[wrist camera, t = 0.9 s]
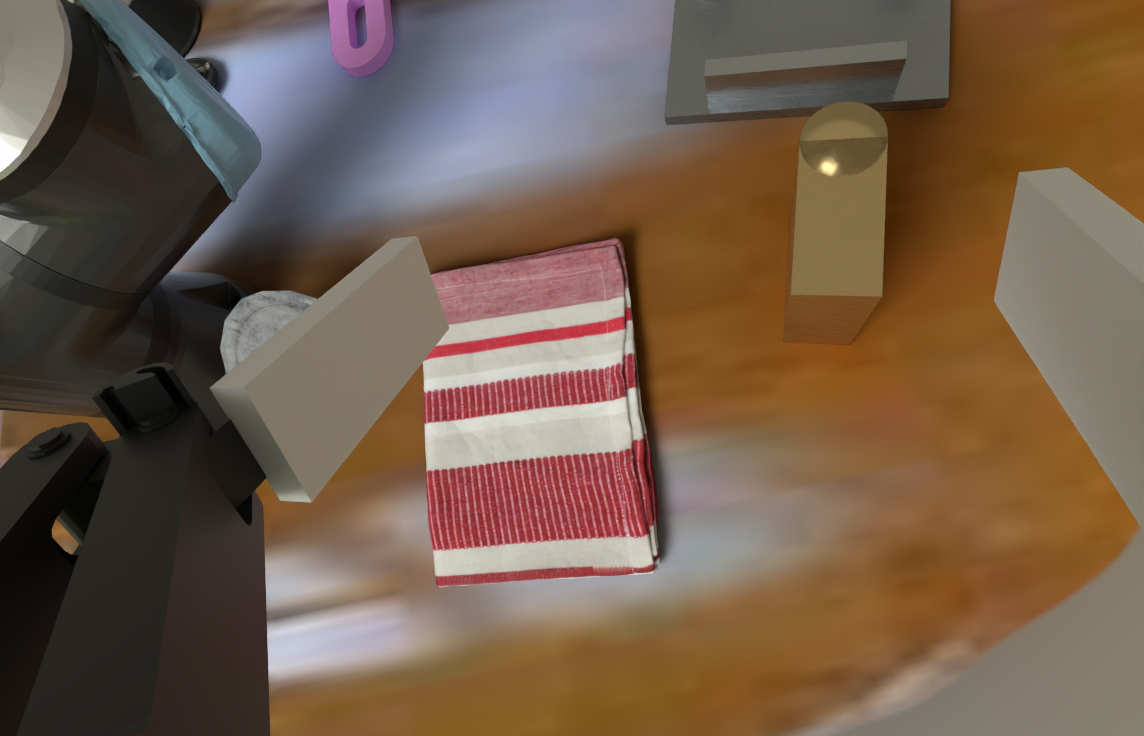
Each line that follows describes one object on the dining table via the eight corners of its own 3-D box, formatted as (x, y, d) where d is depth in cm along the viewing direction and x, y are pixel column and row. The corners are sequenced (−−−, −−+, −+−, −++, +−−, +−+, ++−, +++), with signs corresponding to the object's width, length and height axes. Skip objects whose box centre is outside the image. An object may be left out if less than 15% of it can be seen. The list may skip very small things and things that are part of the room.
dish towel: (628, 241, 45) (620, 227, 42) (668, 571, 40) (662, 578, 37) (425, 283, 49) (407, 273, 47) (440, 584, 44) (420, 591, 42)
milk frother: (157, -12, 65) (-9, -145, 51) (261, 4, 60) (109, -139, 46) (104, 108, 64) (-78, 6, 50) (206, 136, 59) (34, 31, 45)
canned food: (394, 328, 54) (382, 282, 45) (384, 439, 52) (368, 415, 42) (259, 319, 52) (217, 269, 43) (240, 434, 50) (190, 407, 40)
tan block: (783, 342, 40) (790, 294, 29) (791, 198, 41) (801, 104, 31) (849, 344, 38) (882, 296, 28) (855, 196, 40) (889, 98, 30)
